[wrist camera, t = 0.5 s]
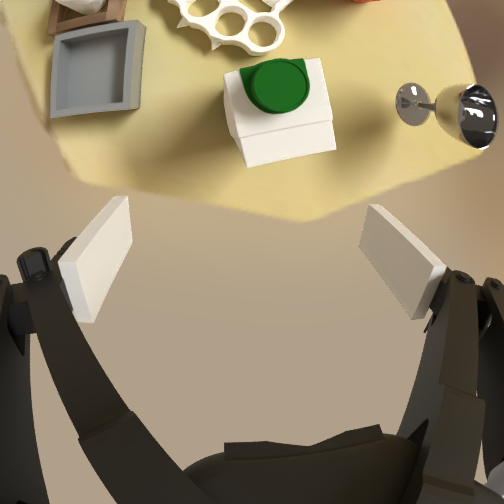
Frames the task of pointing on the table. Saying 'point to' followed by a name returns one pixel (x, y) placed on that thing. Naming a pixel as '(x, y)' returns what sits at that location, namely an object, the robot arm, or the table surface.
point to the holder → (83, 18)
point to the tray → (97, 69)
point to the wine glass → (453, 111)
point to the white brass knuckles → (231, 4)
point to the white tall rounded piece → (83, 5)
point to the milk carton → (279, 110)
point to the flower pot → (364, 0)
